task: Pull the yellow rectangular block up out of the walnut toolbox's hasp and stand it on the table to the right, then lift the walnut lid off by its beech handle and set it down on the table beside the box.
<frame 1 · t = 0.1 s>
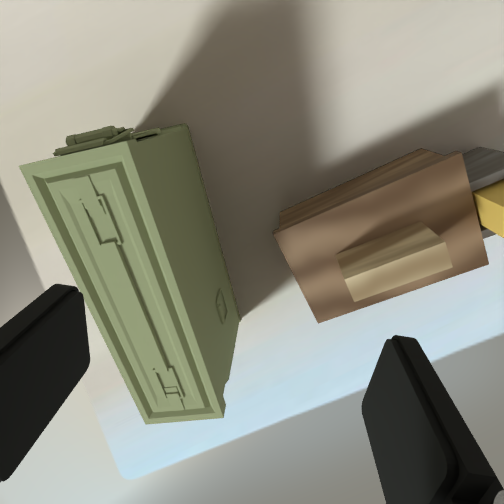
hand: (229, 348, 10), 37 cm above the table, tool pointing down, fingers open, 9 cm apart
lid: (375, 242, 40), point 7 cm above the table, touching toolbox
yellow rectangular block: (457, 183, 43), resting in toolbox
ammunition box: (188, 235, 50), on the table
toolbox: (362, 223, 47), on the table
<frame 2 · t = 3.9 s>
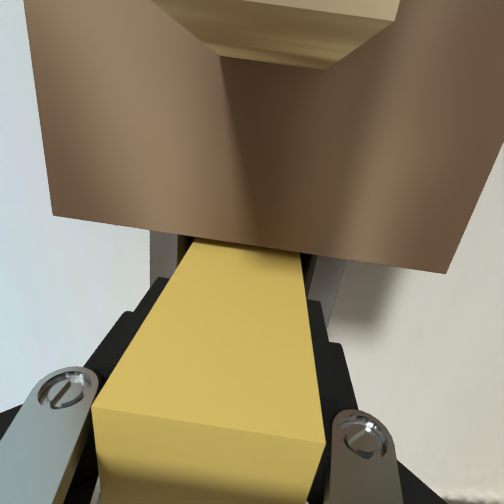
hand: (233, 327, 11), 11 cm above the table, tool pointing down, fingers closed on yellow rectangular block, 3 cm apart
yellow rectangular block: (255, 221, 21), resting in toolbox, touching gripper
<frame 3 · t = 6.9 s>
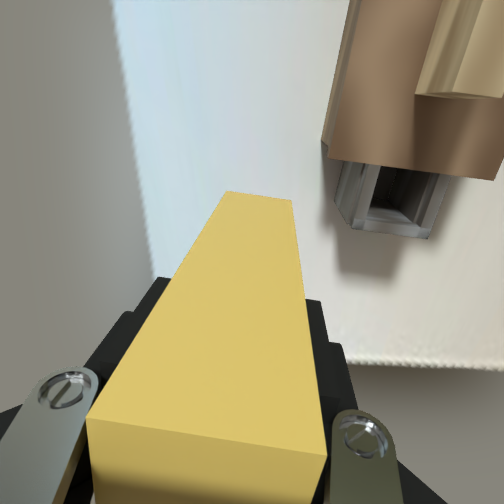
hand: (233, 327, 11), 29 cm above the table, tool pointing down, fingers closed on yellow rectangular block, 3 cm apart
lid: (444, 25, 25), point 7 cm above the table, touching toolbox
yellow rectangular block: (254, 226, 21), point 19 cm above the table, touching gripper
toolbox: (410, 41, 31), on the table
when the fingers open (12 cm above the table, at t = 10.3 s): yellow rectangular block drops 2 cm, on the table.
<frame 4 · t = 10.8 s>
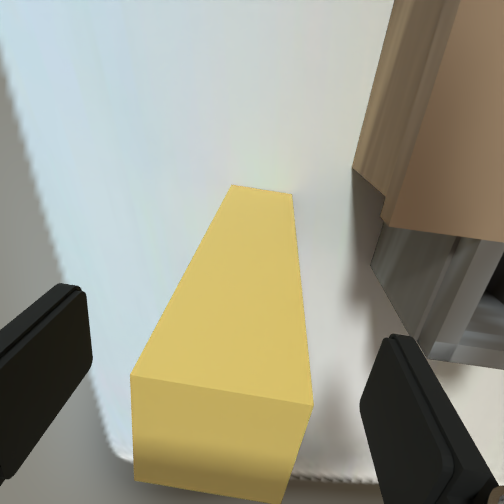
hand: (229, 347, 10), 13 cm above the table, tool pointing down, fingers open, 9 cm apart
yellow rectangular block: (257, 217, 22), on the table
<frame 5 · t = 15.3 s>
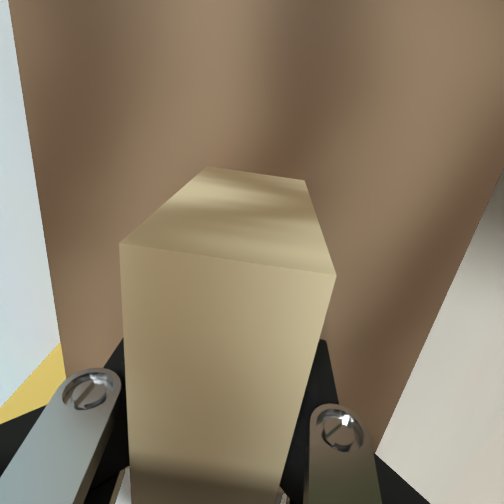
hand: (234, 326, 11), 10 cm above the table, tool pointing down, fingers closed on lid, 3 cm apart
lid: (243, 279, 14), point 7 cm above the table, touching gripper, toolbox
yellow rectangular block: (86, 365, 26), on the table
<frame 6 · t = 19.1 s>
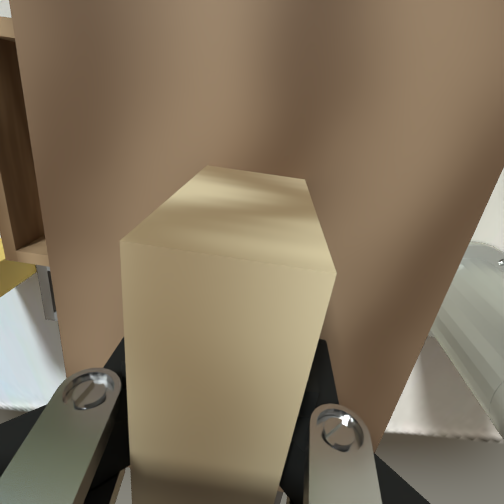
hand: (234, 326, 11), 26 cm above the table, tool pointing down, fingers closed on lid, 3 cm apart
lid: (243, 278, 14), point 22 cm above the table, touching gripper
yellow rectangular block: (18, 255, 41), on the table
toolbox: (105, 152, 34), on the table
when the fingers open (5 cm above the table, at t = 23.1 s): lid drops 2 cm, on the table.
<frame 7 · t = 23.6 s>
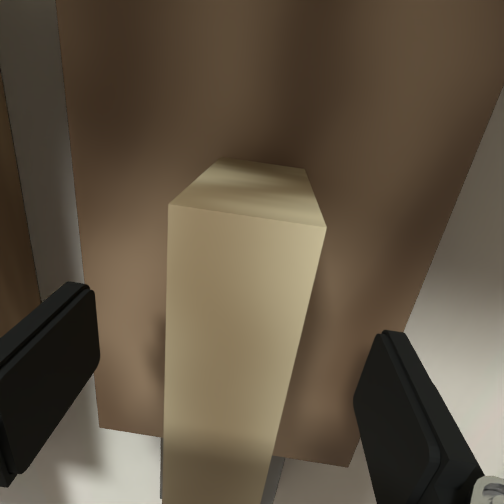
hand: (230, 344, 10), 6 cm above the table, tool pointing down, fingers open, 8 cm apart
lid: (250, 260, 16), on the table
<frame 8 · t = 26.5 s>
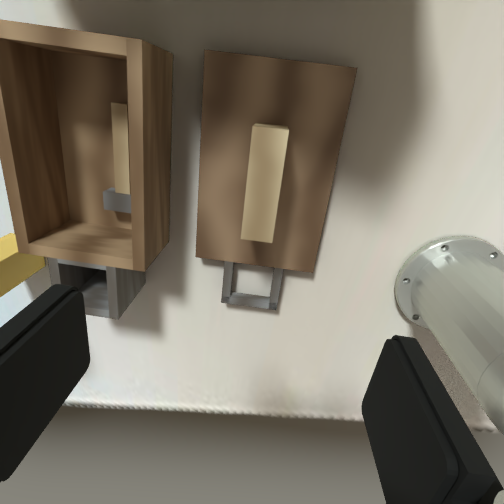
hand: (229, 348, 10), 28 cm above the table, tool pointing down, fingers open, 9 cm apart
lid: (266, 171, 36), on the table
yellow rectangular block: (28, 249, 42), on the table
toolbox: (112, 150, 36), on the table
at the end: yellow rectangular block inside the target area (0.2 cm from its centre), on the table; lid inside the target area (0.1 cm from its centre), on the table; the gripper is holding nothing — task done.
